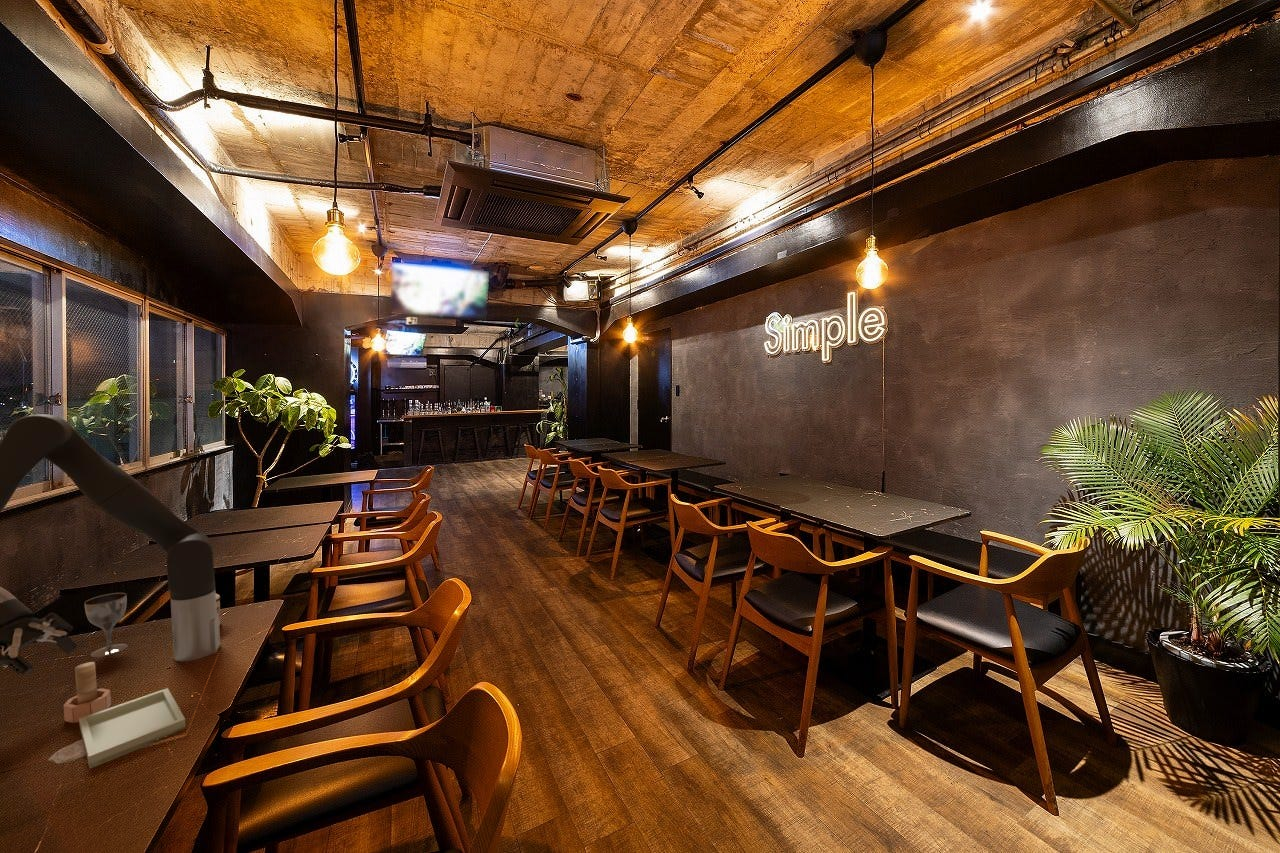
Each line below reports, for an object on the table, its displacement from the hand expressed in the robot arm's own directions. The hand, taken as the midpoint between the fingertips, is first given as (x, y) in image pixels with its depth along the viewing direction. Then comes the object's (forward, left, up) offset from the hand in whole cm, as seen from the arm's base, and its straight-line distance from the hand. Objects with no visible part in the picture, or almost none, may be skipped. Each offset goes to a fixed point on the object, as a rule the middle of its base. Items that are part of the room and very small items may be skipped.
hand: (51, 660), depth 111 cm
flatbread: (-9, +19, -13) cm, 25 cm away
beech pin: (-6, +4, -12) cm, 14 cm away
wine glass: (0, -32, -13) cm, 35 cm away
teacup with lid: (-19, -37, -13) cm, 44 cm away
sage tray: (-16, +16, -13) cm, 26 cm away
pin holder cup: (-6, +4, -13) cm, 15 cm away
